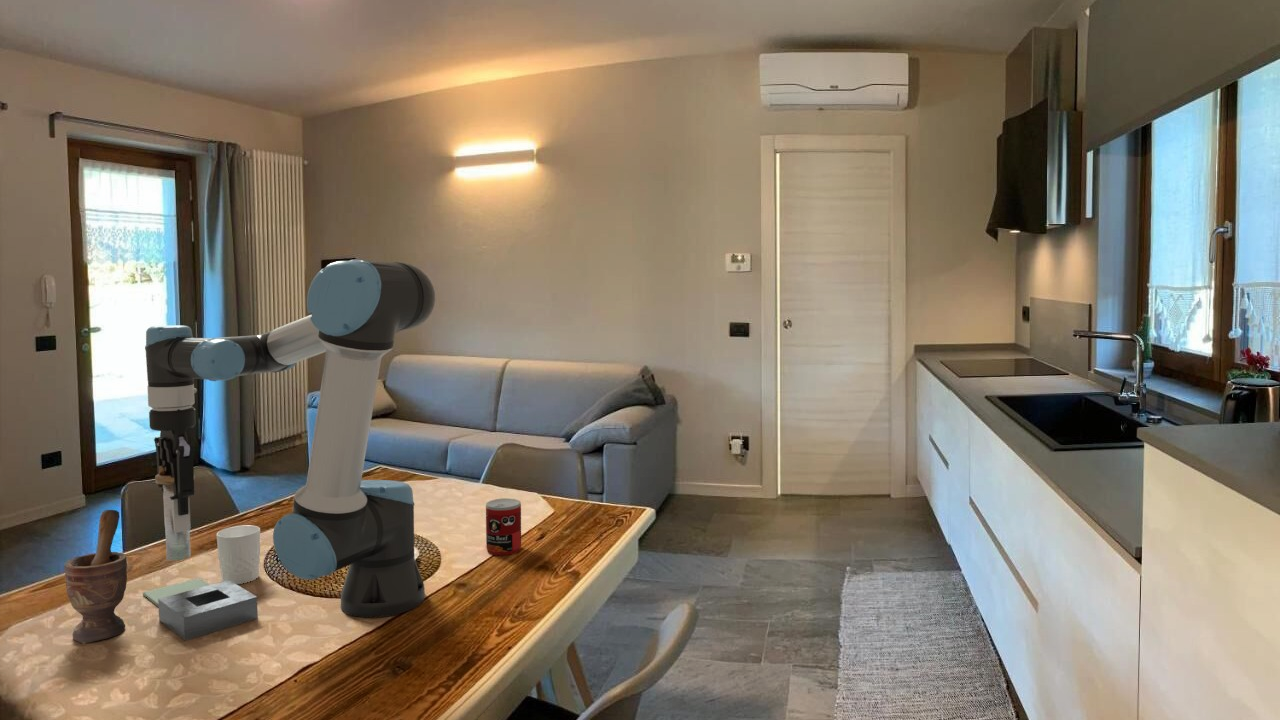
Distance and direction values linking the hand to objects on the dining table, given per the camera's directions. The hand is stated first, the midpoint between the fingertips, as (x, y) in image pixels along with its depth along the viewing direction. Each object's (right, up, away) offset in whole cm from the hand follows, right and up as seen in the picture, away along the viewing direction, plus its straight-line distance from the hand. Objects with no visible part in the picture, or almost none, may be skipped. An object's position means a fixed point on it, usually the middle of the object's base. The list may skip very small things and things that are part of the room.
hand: (177, 528), depth 150 cm
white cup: (+7, -13, +9) cm, 17 cm away
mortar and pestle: (-5, -15, -15) cm, 21 cm away
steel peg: (0, -6, 0) cm, 6 cm away
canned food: (+58, -11, +28) cm, 65 cm away
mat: (0, -13, +1) cm, 13 cm away
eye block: (+11, -14, -10) cm, 21 cm away
